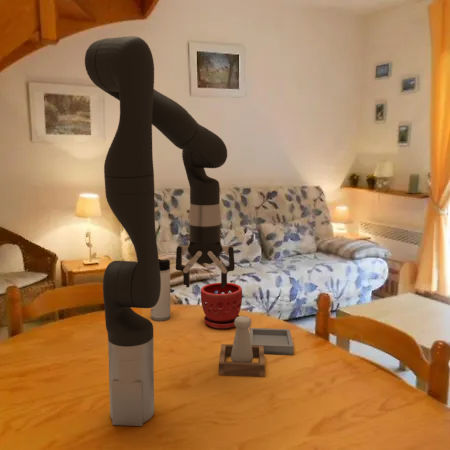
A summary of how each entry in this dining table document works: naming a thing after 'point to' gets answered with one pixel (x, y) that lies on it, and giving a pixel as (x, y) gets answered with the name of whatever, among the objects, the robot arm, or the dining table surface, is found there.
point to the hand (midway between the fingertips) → (205, 286)
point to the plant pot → (221, 304)
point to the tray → (272, 340)
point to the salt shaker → (242, 341)
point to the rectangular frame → (242, 363)
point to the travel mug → (163, 294)
